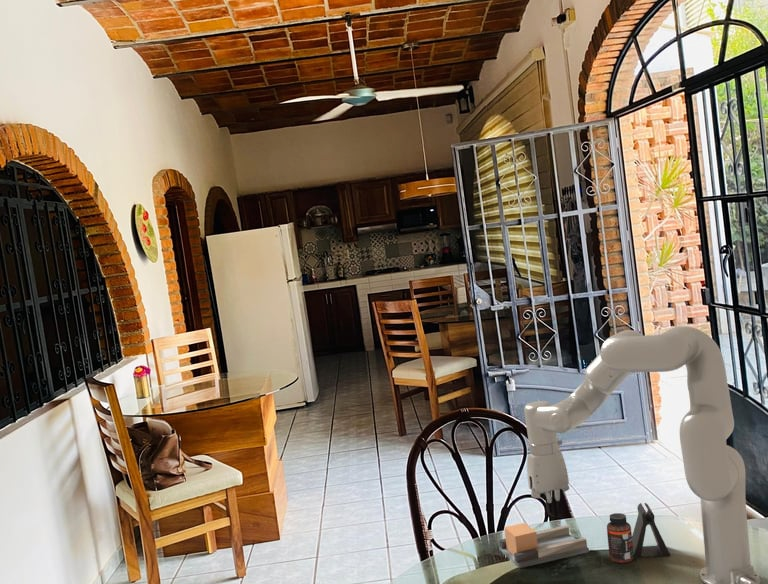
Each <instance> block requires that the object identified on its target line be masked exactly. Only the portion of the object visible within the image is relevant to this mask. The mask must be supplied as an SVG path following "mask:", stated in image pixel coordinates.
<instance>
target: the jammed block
mask: <svg viewBox="0 0 768 584" xmlns="http://www.w3.org/2000/svg"><path fill="white" fill-rule="evenodd" d="M536 532H537V531H536V530H534V529H533V528H532V527H531V526H530V525H528V524H527V523H526V522H523V523H518V524H513V525H508V526H504V537H505V538H504V539H506V548H507V550H508V551H510V552H511V553H512V554H513V555H514V553H518V552H522V551H526V550H531V549H535V548H538V545H537V535H536Z"/></svg>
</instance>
